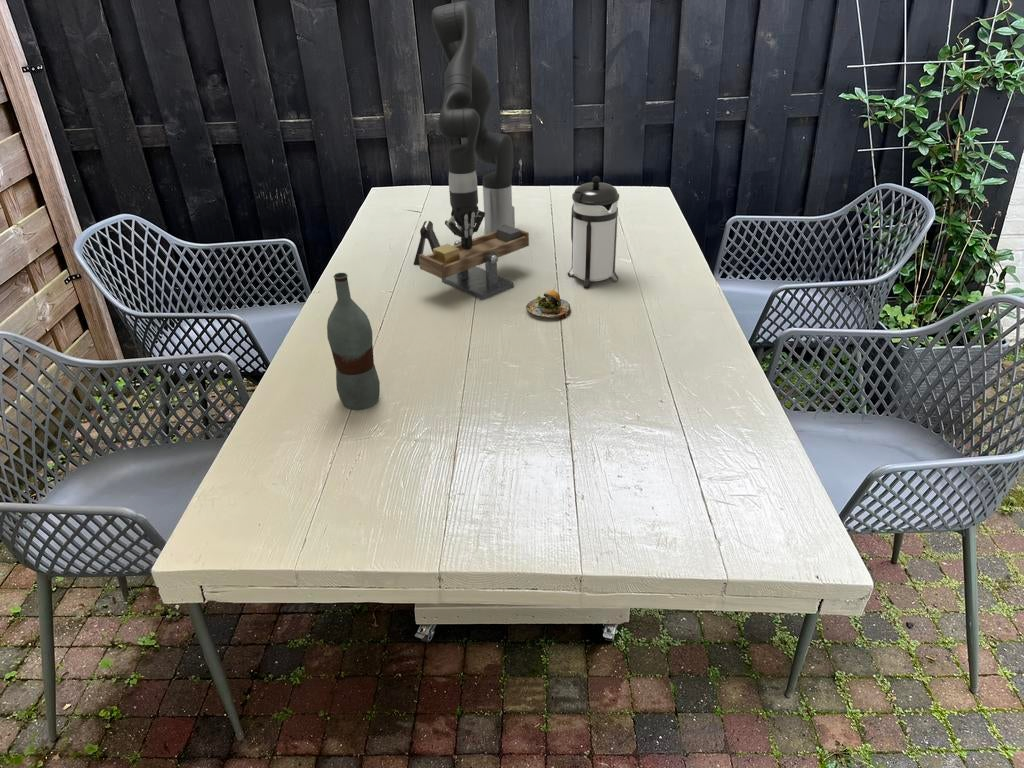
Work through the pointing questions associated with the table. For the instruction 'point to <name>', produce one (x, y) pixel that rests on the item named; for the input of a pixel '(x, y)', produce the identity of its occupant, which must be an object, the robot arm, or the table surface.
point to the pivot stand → (480, 279)
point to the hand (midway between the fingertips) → (467, 248)
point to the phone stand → (426, 234)
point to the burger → (549, 306)
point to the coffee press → (594, 231)
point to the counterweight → (508, 233)
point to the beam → (473, 254)
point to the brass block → (446, 254)
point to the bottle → (352, 350)
